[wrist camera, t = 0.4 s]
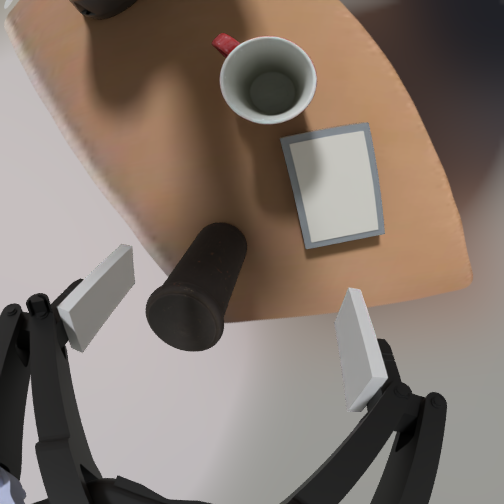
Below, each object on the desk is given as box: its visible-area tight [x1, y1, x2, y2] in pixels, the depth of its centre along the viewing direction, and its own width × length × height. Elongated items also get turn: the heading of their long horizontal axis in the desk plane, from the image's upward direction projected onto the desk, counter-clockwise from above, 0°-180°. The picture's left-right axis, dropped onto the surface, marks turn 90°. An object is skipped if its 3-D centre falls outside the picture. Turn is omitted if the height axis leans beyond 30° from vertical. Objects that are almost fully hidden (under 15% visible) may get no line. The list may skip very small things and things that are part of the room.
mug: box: [212, 33, 317, 125], centre depth 27 cm, size 13×9×14 cm
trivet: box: [280, 122, 385, 249], centre depth 37 cm, size 16×12×3 cm
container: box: [146, 223, 247, 351], centre depth 36 cm, size 9×9×20 cm
